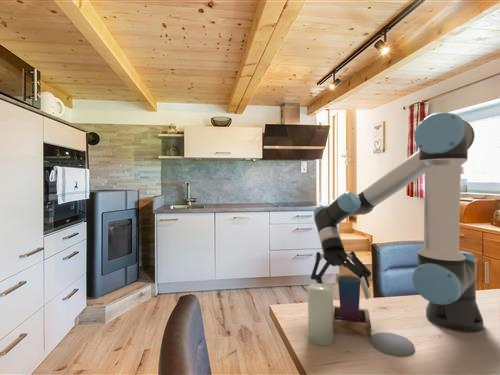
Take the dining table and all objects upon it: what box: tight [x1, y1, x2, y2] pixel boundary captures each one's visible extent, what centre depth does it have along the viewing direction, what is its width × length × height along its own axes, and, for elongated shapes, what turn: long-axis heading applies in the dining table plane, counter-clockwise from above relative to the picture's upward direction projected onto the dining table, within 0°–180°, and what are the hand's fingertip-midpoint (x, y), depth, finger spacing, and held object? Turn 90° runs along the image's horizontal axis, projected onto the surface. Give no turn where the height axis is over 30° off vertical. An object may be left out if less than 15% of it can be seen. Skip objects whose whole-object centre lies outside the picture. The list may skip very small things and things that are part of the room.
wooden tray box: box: [333, 304, 372, 339], centre depth 90 cm, size 12×12×4 cm
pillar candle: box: [307, 282, 334, 347], centre depth 83 cm, size 7×7×15 cm
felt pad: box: [369, 331, 415, 357], centre depth 79 cm, size 11×11×1 cm
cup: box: [337, 274, 361, 322], centre depth 90 cm, size 7×7×15 cm
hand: (347, 298), depth 91 cm, fingers open, 13 cm apart
